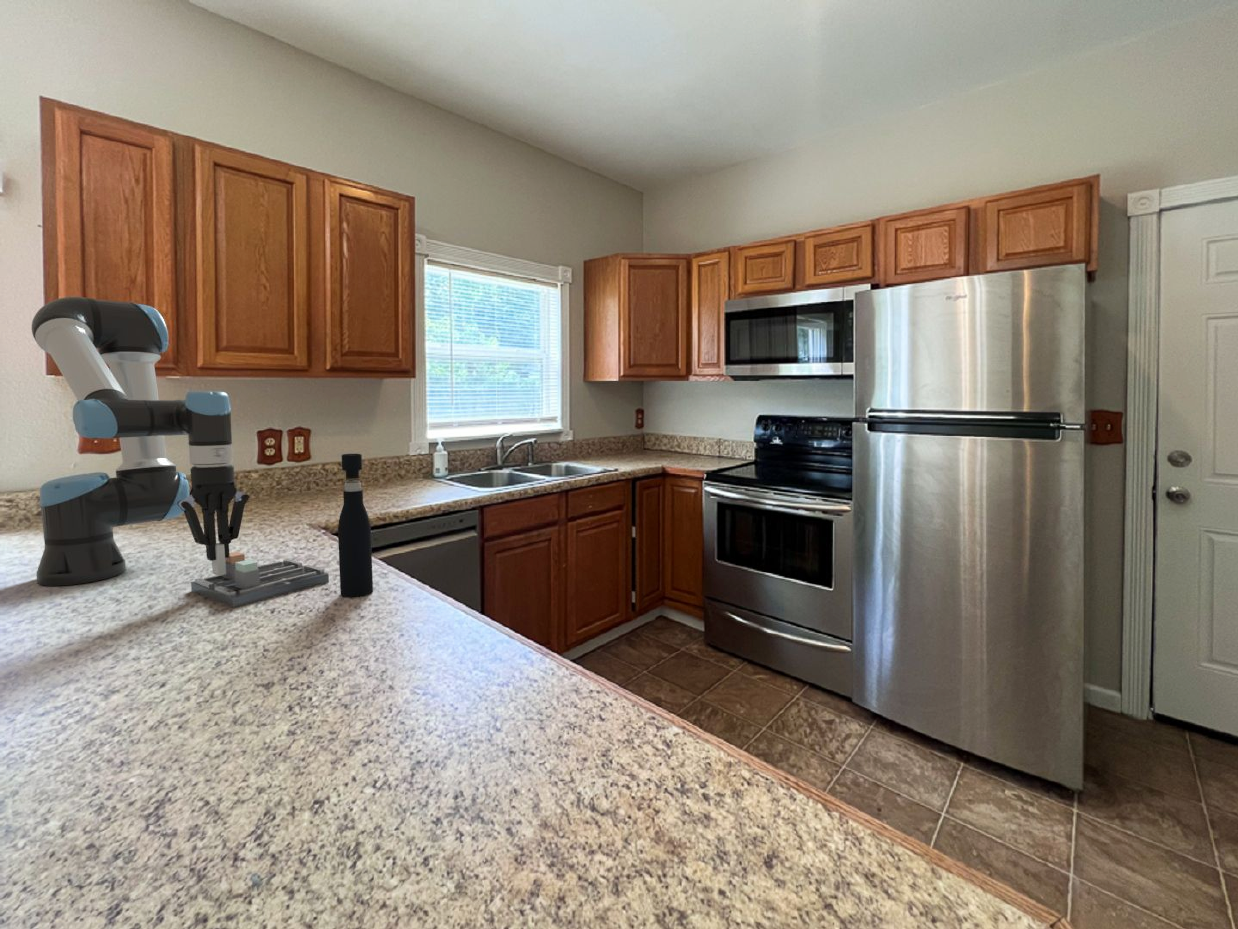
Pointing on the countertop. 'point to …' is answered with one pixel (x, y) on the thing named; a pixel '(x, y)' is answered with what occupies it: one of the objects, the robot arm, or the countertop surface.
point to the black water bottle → (354, 535)
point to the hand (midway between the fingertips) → (219, 573)
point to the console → (261, 583)
